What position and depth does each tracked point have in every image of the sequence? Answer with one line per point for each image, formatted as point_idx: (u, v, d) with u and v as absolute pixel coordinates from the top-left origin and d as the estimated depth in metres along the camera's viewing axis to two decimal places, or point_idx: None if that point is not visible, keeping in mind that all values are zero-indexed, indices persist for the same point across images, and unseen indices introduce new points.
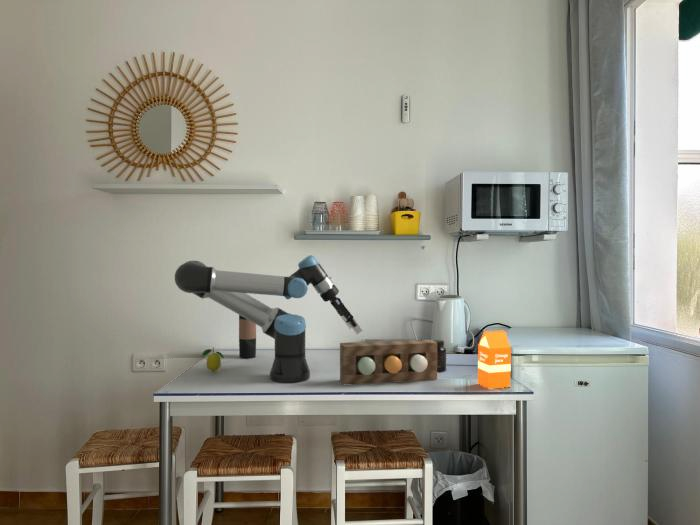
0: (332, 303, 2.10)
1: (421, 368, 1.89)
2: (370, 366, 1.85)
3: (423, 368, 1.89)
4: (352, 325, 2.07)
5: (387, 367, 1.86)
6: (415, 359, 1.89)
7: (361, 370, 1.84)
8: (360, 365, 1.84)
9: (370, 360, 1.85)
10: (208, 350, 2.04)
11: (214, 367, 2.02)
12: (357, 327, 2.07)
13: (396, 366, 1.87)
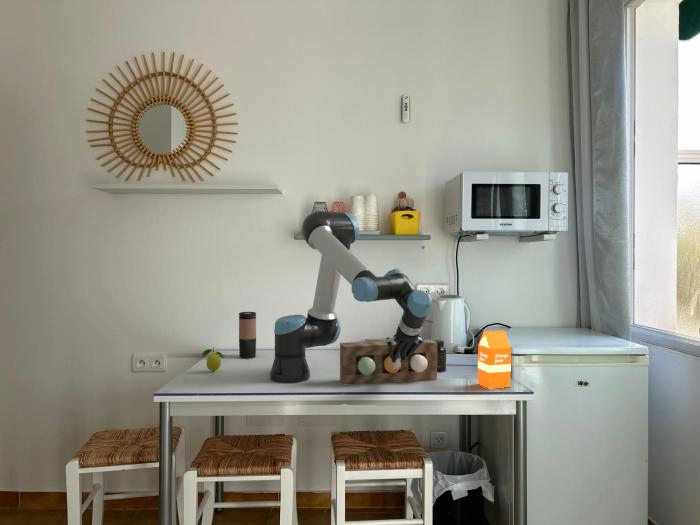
0: None
1: (421, 368, 1.89)
2: (370, 366, 1.85)
3: (423, 368, 1.89)
4: None
5: (386, 366, 1.87)
6: (415, 359, 1.89)
7: (361, 370, 1.84)
8: (360, 365, 1.84)
9: (370, 360, 1.85)
10: (208, 350, 2.04)
11: (214, 367, 2.02)
12: (394, 363, 1.85)
13: None
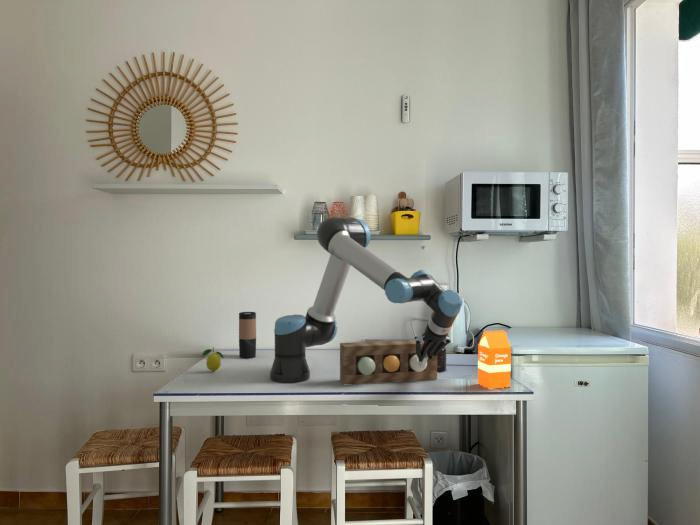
0: None
1: (420, 368, 1.90)
2: (370, 366, 1.85)
3: None
4: None
5: (385, 365, 1.89)
6: (415, 359, 1.89)
7: (361, 370, 1.84)
8: (360, 365, 1.84)
9: (370, 360, 1.85)
10: (208, 350, 2.04)
11: (214, 367, 2.02)
12: (420, 362, 1.86)
13: (394, 365, 1.90)
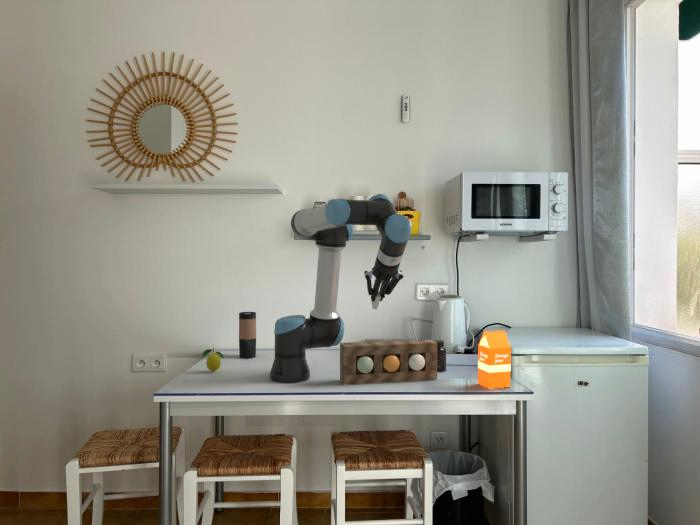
0: None
1: (418, 366, 1.92)
2: (369, 365, 1.88)
3: (421, 366, 1.92)
4: None
5: (385, 365, 1.89)
6: (413, 358, 1.91)
7: (359, 368, 1.87)
8: (358, 363, 1.87)
9: (368, 358, 1.87)
10: (208, 350, 2.04)
11: (214, 367, 2.02)
12: (373, 302, 1.73)
13: (394, 365, 1.90)
